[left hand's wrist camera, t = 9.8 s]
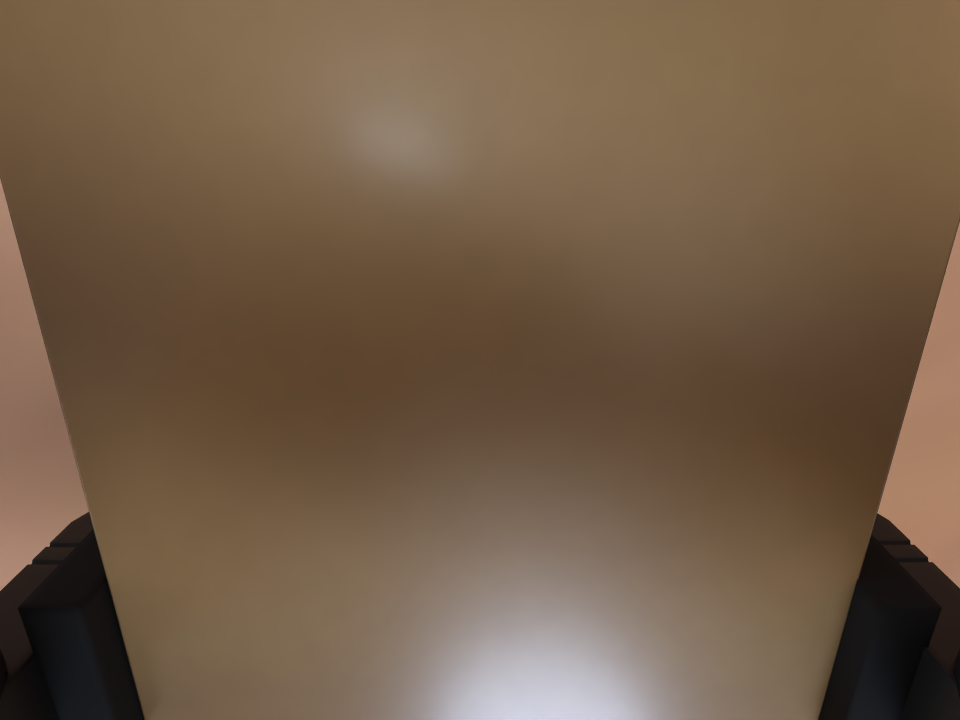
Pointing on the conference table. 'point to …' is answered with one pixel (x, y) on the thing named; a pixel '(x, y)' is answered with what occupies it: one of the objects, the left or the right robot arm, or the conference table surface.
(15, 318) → the conference table surface
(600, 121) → the wide beam
